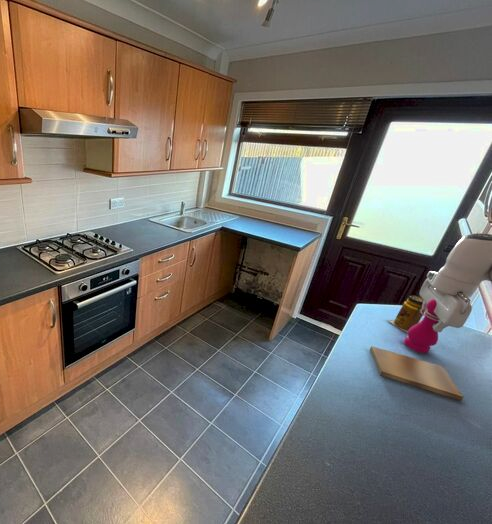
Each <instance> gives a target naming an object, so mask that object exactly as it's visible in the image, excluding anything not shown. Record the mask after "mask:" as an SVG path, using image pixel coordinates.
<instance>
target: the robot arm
mask: <svg viewBox="0 0 492 524" xmlns="http://www.w3.org/2000/svg"><path fill="white" fill-rule="evenodd" d="M484 281H488V282H492V234H491V233H478V232H477V233H470V234H466V235H464V236H462V237H461V239H459V240H458V242H457V243H456V244H455V245H454V246H453V248H452V249H451V251H450V252H449V253H448V255H447V257H446V259H445V263H444V265H443V266H442V267H441V268H440V269H439V270H438V271H432V270H430V271H428V272H427V274H426V278H425V280H424V282H423V284H422V285H421V287H420V290H419V297H421V298H423V300H424V301H423V305H422V309H421V311H420V313H421V314H422V315H423V316H425V315H424V312H425V310H427V303H428V302H429V301H430V300H432V299H434V300H436V302H437V305H436V308H435V310H434V313H435V314H436V315H437V316H438V317H439V323H437V324H434V325H433V326H432V328H433V330H434V331H436V332H438V333H442V332H443V330H444V329H446V328H447V327H450V328H456V329H460V328H462V327H464V325H465V324H466V322H467V320H468V319H469V317H470V315H471V313H472V310H473V306H472V304H471V299H470V298H472V296H473V295H474V294H475V292H476V291H477V289H478V288H479V286H480V285H481V284H482V282H484Z"/></svg>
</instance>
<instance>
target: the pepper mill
mask: <svg viewBox="0 0 492 524" xmlns="http://www.w3.org/2000/svg"><path fill="white" fill-rule="evenodd" d="M436 305H437V302H436V300H434V299H432V300H430V301H429V302H428V303H427V310H425V312H424V315H423V317H422V320H420V321H419V323H418V324H416V325H414V326H412V327H411V328H410V329H409V330H408V332H407V334H406V335H407V336H406V337H405V339H404V340H403V344H404V345H405V346H406V347H408V348H409V349H411V350H412V351H415V352H417V353H421V354H426V353H429V351H430V350H431V347H433V346H436V344H437V343H438V341H439V332H436V331H434V330H433V328H432V326H433V325H434V324H437V323H439V317H438V316H437V315H436V314H435V313H434V310H435V308H436Z"/></svg>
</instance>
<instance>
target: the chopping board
mask: <svg viewBox="0 0 492 524" xmlns="http://www.w3.org/2000/svg"><path fill="white" fill-rule="evenodd" d="M369 352H370V354H371V357H372V358H373V362H374V365H375V367H376V369H377V372H378V373H379V376H382V377H385V378H388V379H391V380H395V381H397V382H401V383H404V384H407V385H409V386H413V387H416V388H420V389H423V390H425V391H430V392H432V393H436V394H438V395H441V396H445V397H448V398H451V399H454V400H457V401H462V400H463V399H464V395H463V393H462V392H461V391H460V389H459V388H458V386H457V385H456V383H455V382H454V381H453V379H452V378H451V376H450V375H449V373H448V372H447V370H446V368H445V367H444V366H443V365H438V364H435V363H432V362H428V361H425V360H421V359H418V358H414V357H411V356H408V355H405V354H400V353H397V352H394V351H390V350H387V349H383V348H380V347H377V346H373V345H372V346H370V348H369Z"/></svg>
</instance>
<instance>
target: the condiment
mask: <svg viewBox="0 0 492 524" xmlns="http://www.w3.org/2000/svg"><path fill="white" fill-rule="evenodd" d="M423 301H424V300H423V298H422V297H421V296H417V295H409V296H408V297H407V298H406V301H404V302H403V303H402V305H401V308H400V309H399V311H398V312H397V314H396V316H395V318H394V319H391V320H390V319H389V320H388V319H387V321H388V323H391V324H392V325H393V326H395V327H397V328H398V329H400V330H401V331H403V332H404V333H407V332H408V330H409V329H410V328H411V327H412V326H414V325H416V324H418V323H419V322H421V319H423V317H424V315H422V314H421V313H420V311H421V309H422V305H423Z"/></svg>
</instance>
